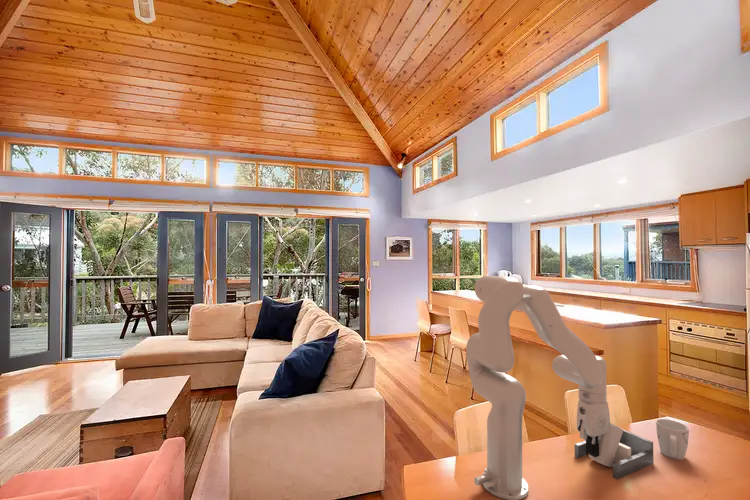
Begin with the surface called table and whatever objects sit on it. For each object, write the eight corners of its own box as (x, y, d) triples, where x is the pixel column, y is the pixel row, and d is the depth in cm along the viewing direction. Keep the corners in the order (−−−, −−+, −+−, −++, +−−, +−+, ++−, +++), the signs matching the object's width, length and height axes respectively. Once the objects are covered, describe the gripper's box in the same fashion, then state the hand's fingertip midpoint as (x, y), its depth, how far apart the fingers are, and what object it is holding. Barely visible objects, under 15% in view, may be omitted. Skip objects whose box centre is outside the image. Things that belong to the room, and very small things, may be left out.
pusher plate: (628, 468, 109) (628, 448, 109) (596, 452, 118) (596, 434, 118) (631, 467, 109) (631, 447, 110) (599, 451, 118) (599, 433, 119)
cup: (607, 461, 114) (615, 424, 116) (620, 471, 106) (629, 432, 108) (581, 452, 116) (589, 415, 117) (593, 461, 108) (601, 422, 110)
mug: (691, 469, 109) (691, 437, 109) (657, 459, 114) (656, 429, 114) (687, 453, 118) (687, 423, 118) (655, 445, 123) (655, 416, 123)
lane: (617, 479, 104) (616, 455, 104) (574, 456, 116) (574, 434, 116) (653, 463, 112) (653, 441, 112) (610, 443, 124) (610, 423, 124)
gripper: (588, 403, 103) (588, 466, 103) (619, 396, 110) (619, 455, 109) (565, 394, 110) (565, 453, 110) (595, 388, 116) (595, 443, 116)
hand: (592, 454), depth 109 cm, fingers closed
